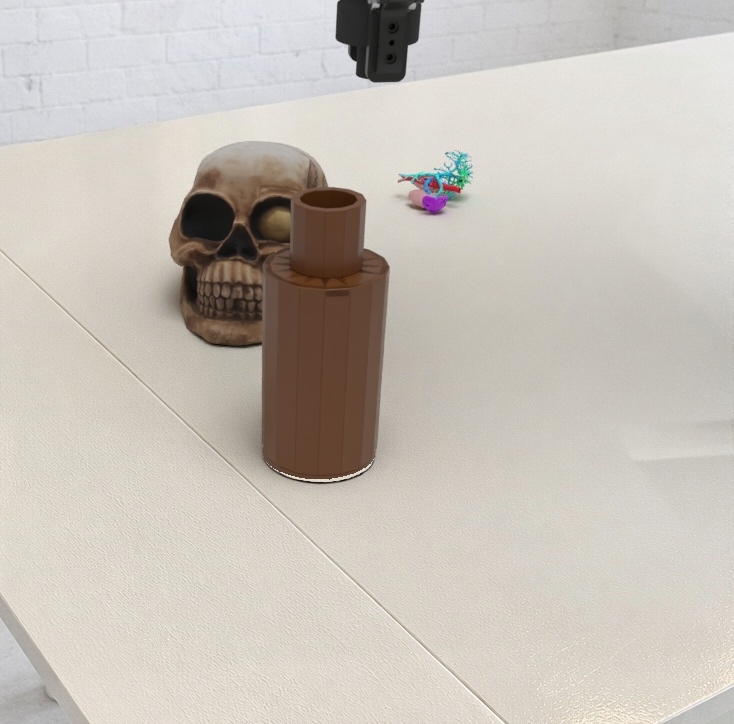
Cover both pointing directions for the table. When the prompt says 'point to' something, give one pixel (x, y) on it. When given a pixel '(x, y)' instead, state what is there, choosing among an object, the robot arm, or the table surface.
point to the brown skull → (236, 234)
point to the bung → (364, 28)
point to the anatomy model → (438, 184)
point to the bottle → (323, 339)
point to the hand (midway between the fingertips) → (375, 68)
